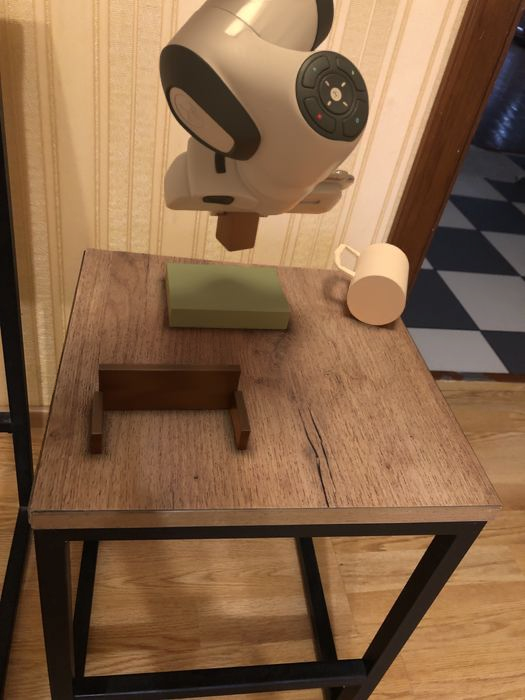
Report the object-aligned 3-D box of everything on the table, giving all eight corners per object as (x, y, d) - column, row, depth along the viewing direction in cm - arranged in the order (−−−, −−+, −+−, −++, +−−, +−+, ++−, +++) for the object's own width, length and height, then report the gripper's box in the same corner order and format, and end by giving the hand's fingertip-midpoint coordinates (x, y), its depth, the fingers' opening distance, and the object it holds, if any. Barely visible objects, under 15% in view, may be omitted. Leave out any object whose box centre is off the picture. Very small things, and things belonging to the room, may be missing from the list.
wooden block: (240, 234, 78) (248, 178, 73) (255, 249, 76) (265, 192, 71) (213, 238, 76) (221, 180, 71) (228, 253, 74) (237, 195, 69)
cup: (313, 293, 84) (324, 261, 92) (383, 334, 85) (389, 299, 93) (343, 250, 79) (352, 220, 86) (417, 294, 80) (420, 261, 88)
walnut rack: (91, 453, 59) (90, 412, 55) (94, 403, 64) (93, 363, 60) (246, 449, 62) (255, 410, 59) (237, 402, 68) (244, 364, 64)
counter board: (169, 326, 76) (171, 308, 74) (165, 280, 84) (166, 262, 83) (286, 329, 80) (290, 312, 78) (271, 284, 88) (274, 267, 86)
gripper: (359, 146, 64) (311, 189, 77) (174, 133, 58) (156, 183, 71) (363, 202, 64) (314, 236, 77) (178, 195, 57) (159, 233, 70)
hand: (237, 210), depth 74 cm, fingers closed on wooden block, 4 cm apart
